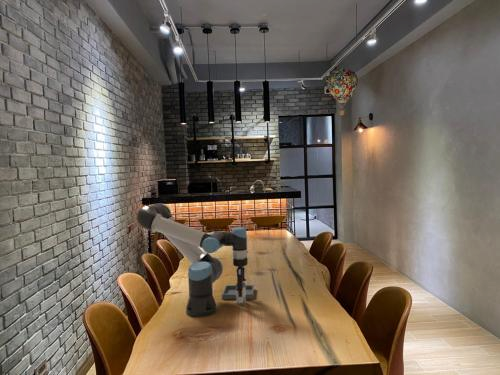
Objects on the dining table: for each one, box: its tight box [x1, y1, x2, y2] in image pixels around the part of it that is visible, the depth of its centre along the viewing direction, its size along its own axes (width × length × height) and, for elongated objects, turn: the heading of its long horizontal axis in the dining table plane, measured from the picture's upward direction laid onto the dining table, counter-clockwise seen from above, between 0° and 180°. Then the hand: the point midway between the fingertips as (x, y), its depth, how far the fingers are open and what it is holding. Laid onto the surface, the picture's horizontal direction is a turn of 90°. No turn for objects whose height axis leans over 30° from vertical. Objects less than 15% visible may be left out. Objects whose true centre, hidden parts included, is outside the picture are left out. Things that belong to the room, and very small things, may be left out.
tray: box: [221, 284, 255, 300], centre depth 207 cm, size 17×16×3 cm
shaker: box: [235, 282, 247, 306], centre depth 193 cm, size 5×5×10 cm
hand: (241, 297), depth 193 cm, fingers open, 13 cm apart
